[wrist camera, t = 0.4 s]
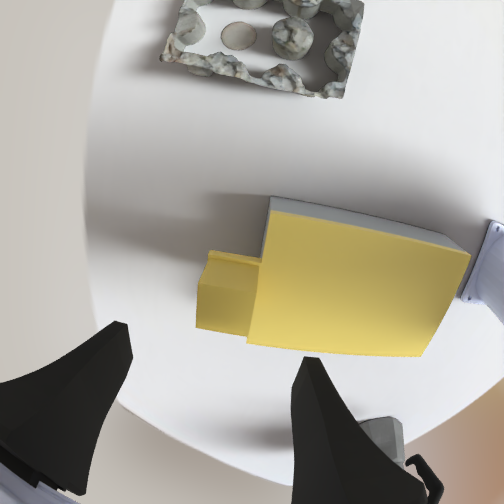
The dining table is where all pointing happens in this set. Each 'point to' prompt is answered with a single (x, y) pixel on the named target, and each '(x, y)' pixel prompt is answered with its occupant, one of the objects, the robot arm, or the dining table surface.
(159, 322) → the dining table surface
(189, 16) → the egg carton
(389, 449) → the coffeepot
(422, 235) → the tub
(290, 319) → the lid
